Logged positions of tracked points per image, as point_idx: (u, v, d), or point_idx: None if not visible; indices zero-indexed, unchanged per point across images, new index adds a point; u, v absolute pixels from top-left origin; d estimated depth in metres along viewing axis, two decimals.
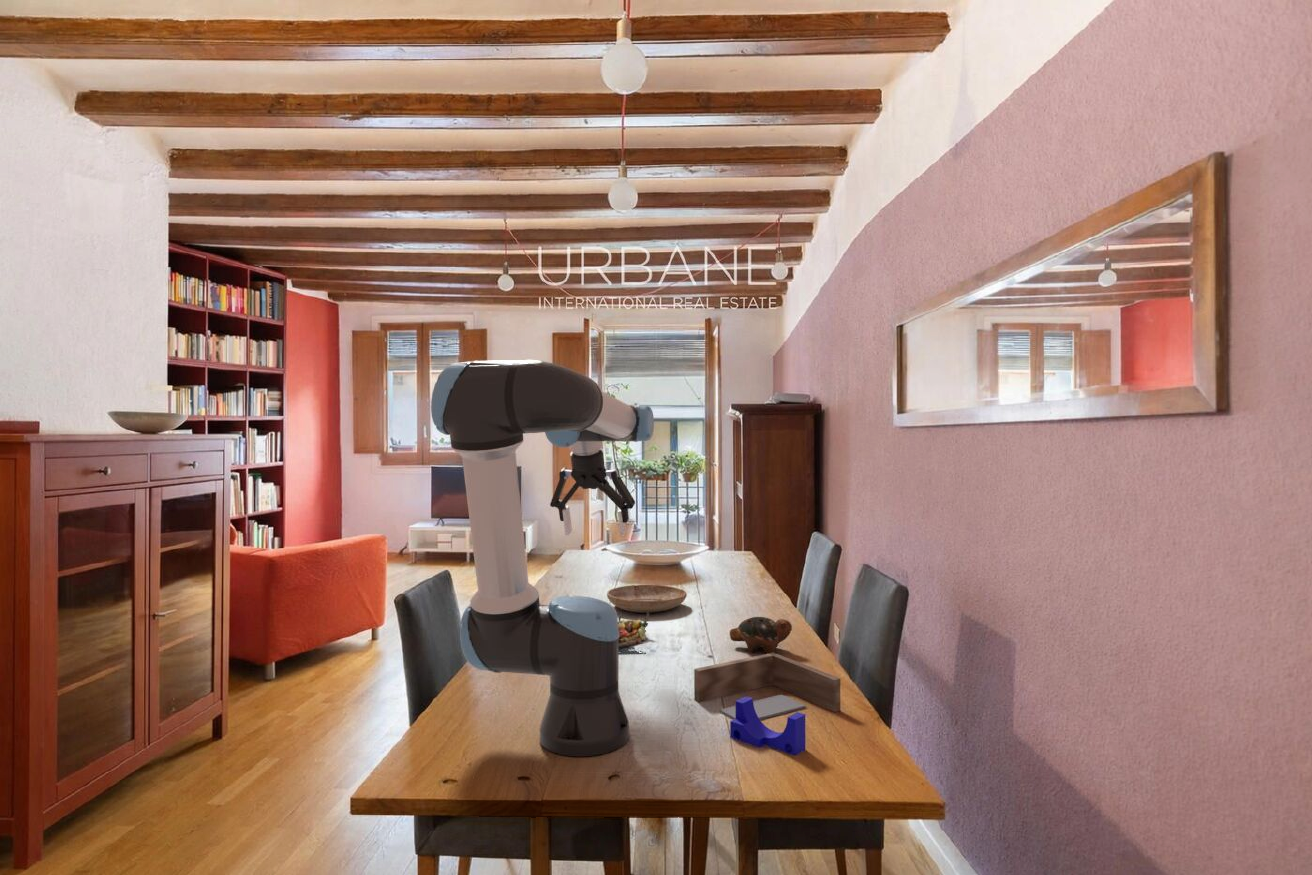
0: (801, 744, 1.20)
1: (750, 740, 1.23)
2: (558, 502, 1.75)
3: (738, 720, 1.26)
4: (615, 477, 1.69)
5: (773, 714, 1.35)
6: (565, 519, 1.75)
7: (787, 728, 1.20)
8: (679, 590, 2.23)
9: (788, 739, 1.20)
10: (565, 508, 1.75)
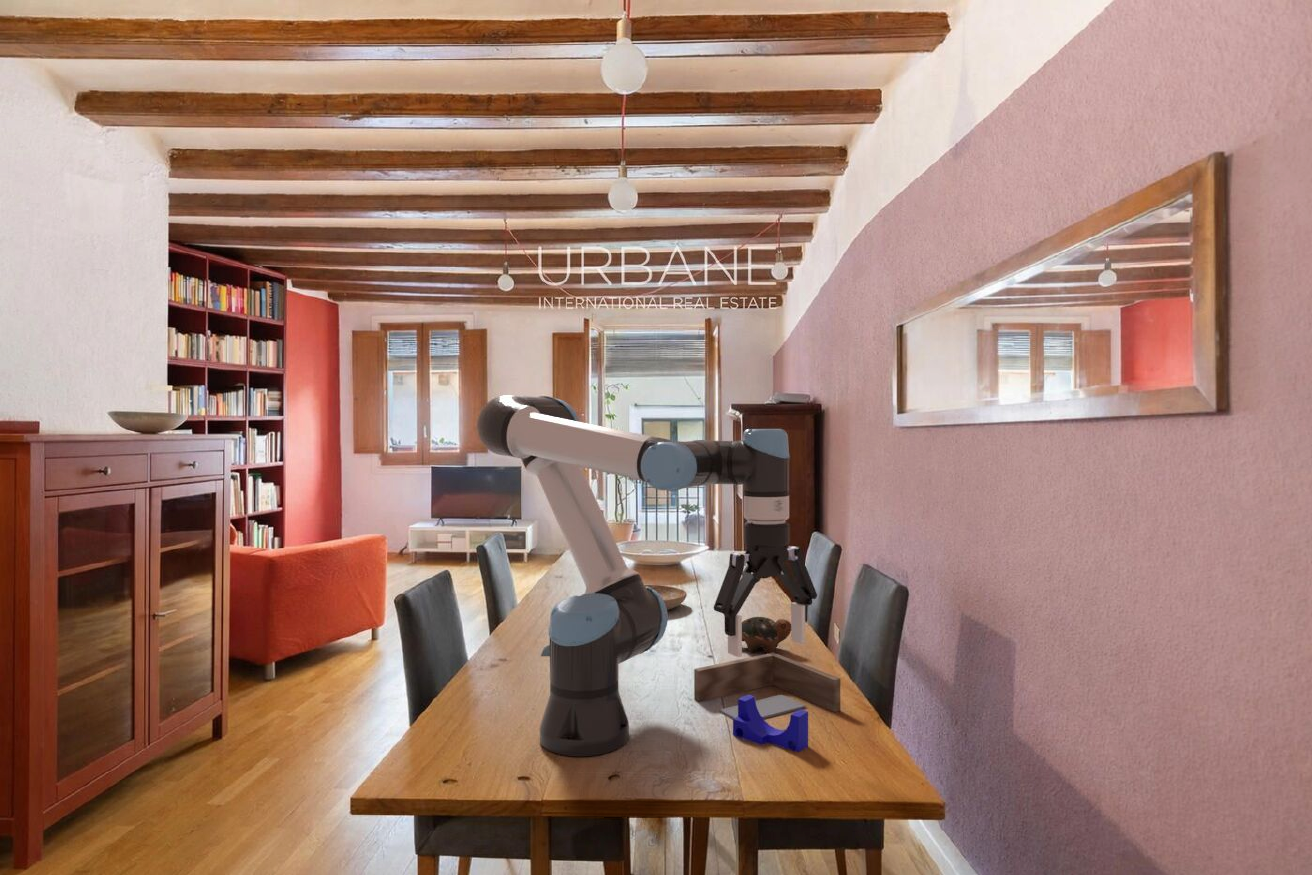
0: (804, 741, 1.21)
1: (753, 738, 1.24)
2: None
3: (741, 718, 1.27)
4: None
5: (773, 714, 1.35)
6: None
7: (790, 725, 1.21)
8: (679, 590, 2.23)
9: (792, 737, 1.21)
10: (796, 603, 1.27)
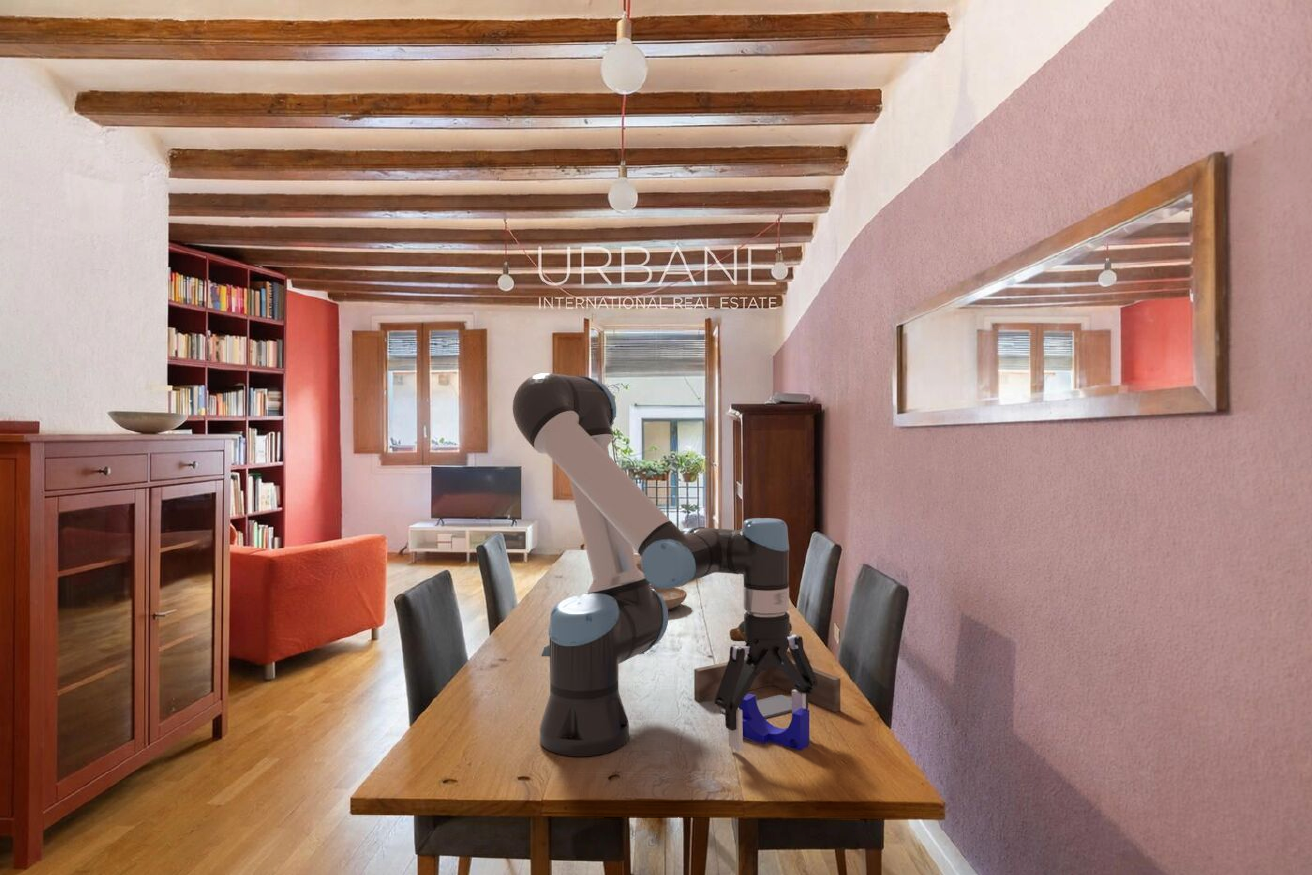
0: (805, 739, 1.22)
1: (755, 736, 1.25)
2: None
3: (742, 717, 1.28)
4: None
5: (773, 714, 1.35)
6: None
7: (792, 724, 1.22)
8: (679, 590, 2.23)
9: (793, 735, 1.21)
10: (797, 691, 1.27)
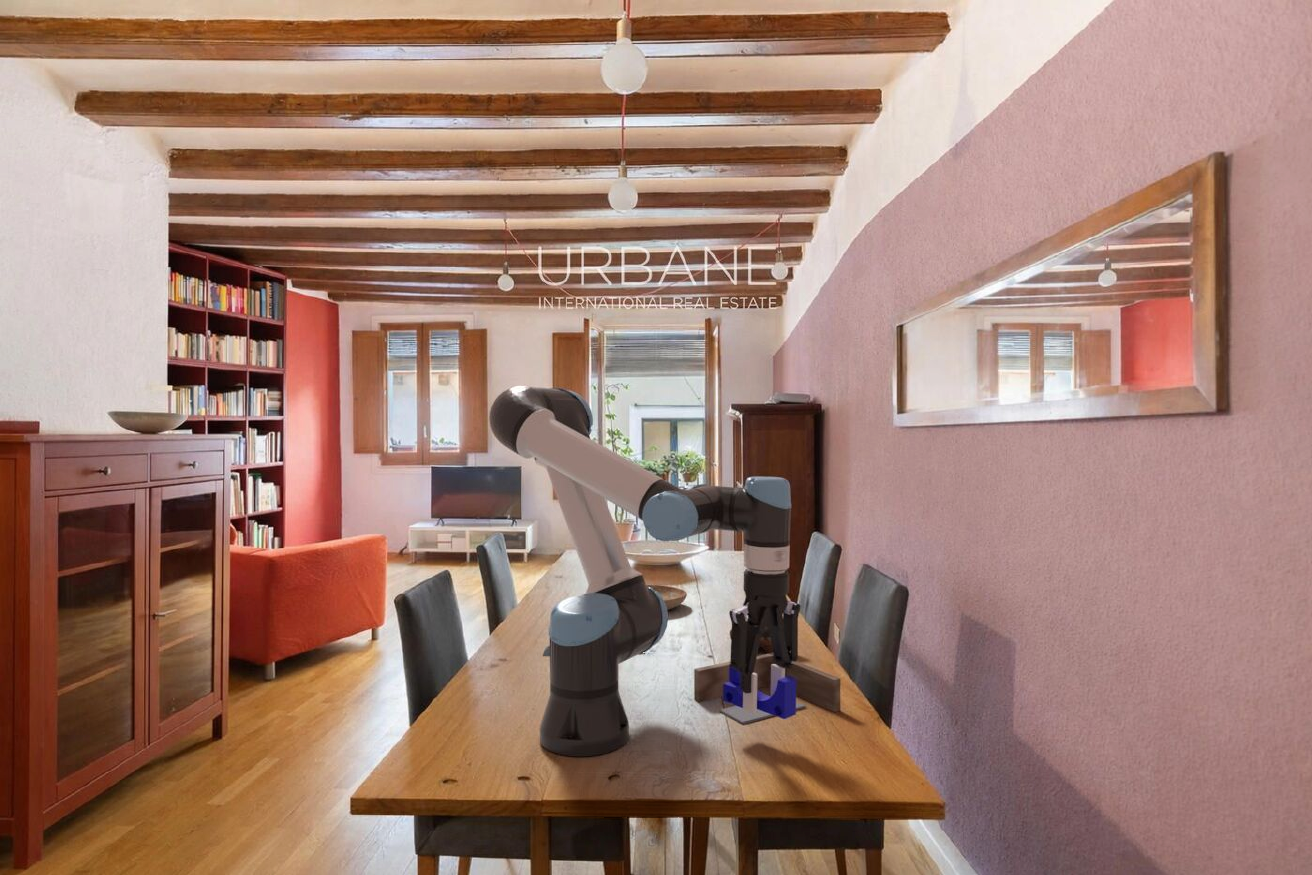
0: (791, 707, 1.21)
1: (741, 702, 1.24)
2: None
3: (731, 683, 1.27)
4: None
5: None
6: None
7: (777, 691, 1.21)
8: (679, 590, 2.23)
9: (778, 702, 1.20)
10: (776, 666, 1.25)
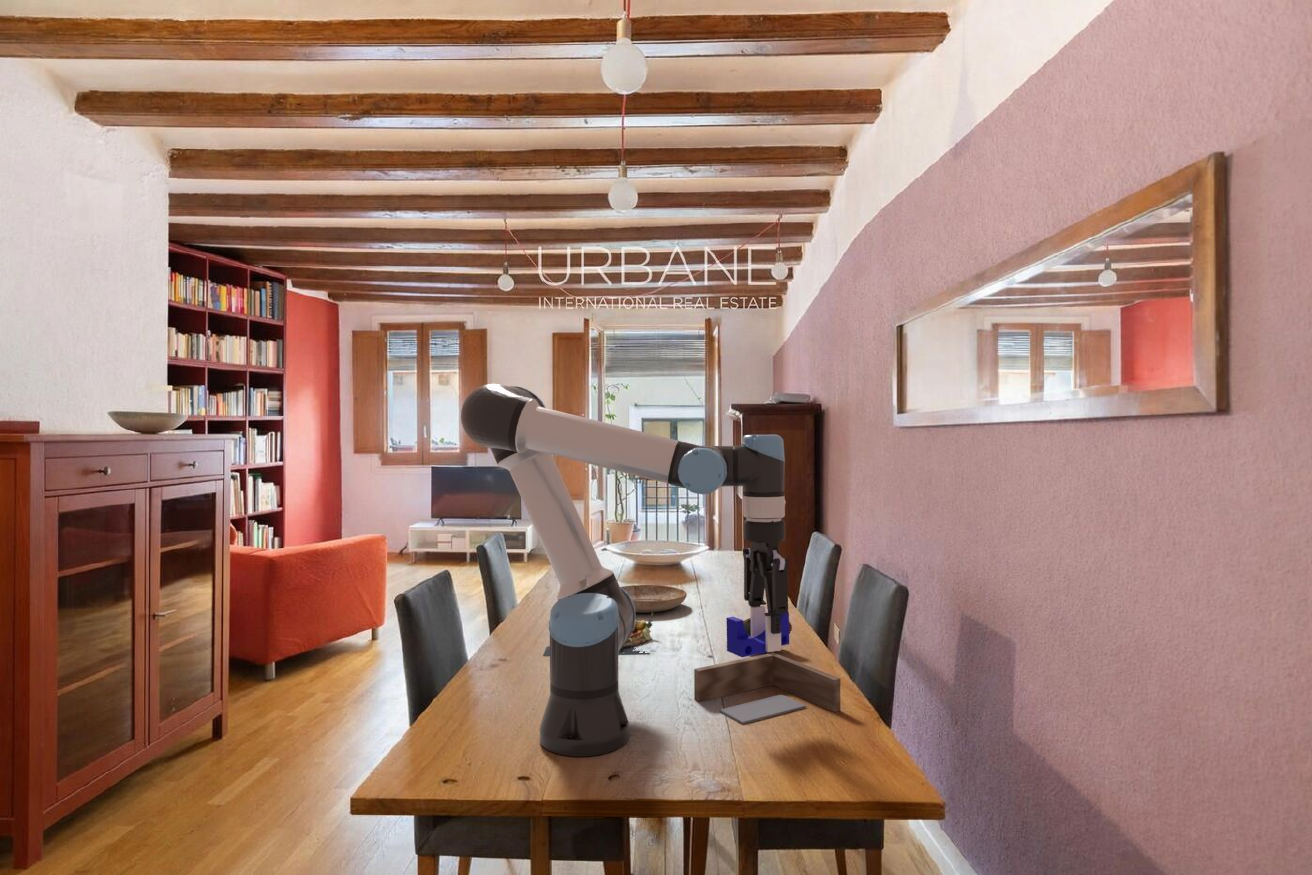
0: None
1: (761, 648, 1.31)
2: None
3: (742, 638, 1.31)
4: (775, 567, 1.28)
5: (773, 714, 1.35)
6: (751, 620, 1.37)
7: (782, 622, 1.36)
8: (679, 590, 2.23)
9: (784, 632, 1.36)
10: (756, 607, 1.37)
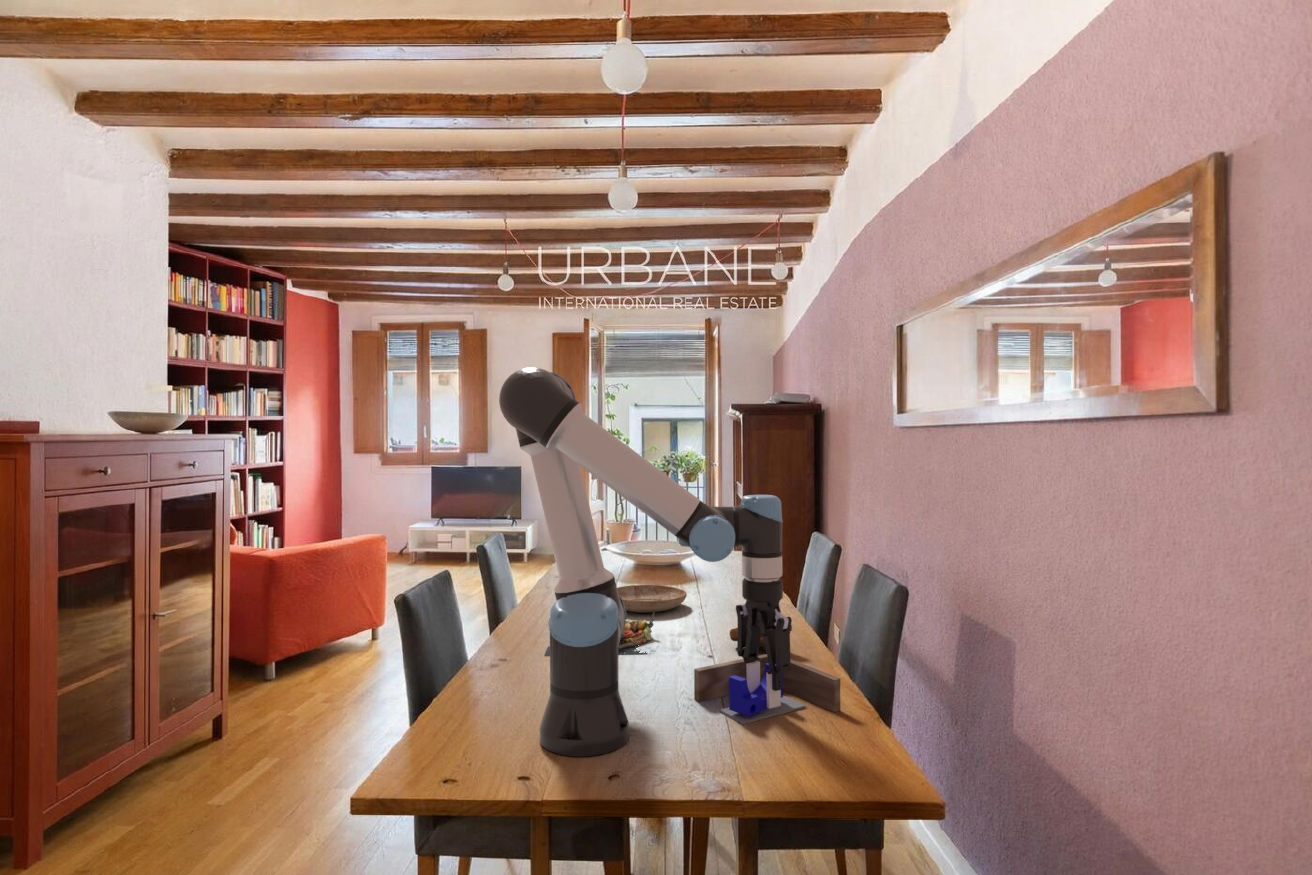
0: None
1: (763, 705, 1.35)
2: None
3: (746, 696, 1.33)
4: (779, 626, 1.32)
5: (773, 714, 1.35)
6: (748, 676, 1.40)
7: None
8: (679, 590, 2.23)
9: None
10: (752, 663, 1.41)
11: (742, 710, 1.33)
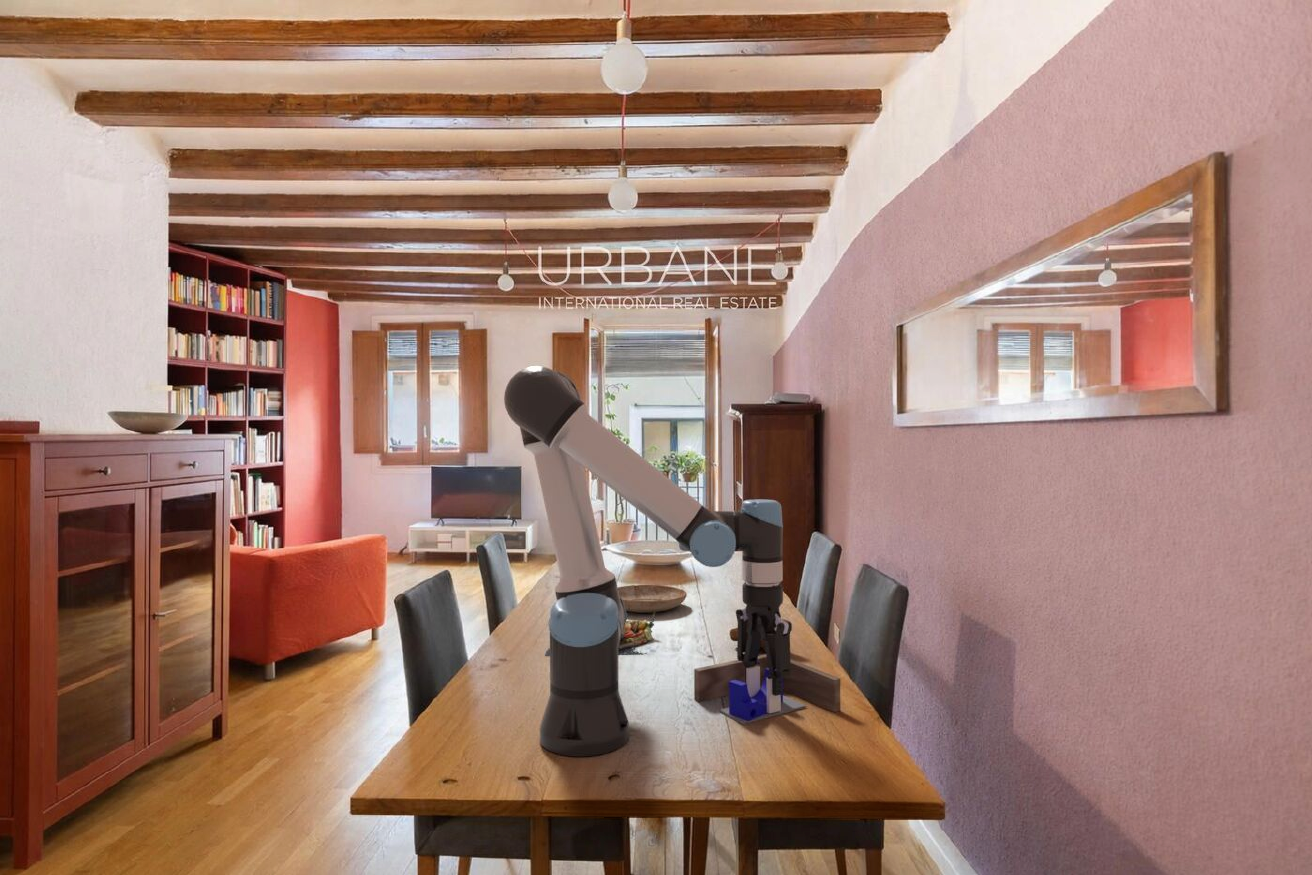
0: None
1: (763, 710, 1.35)
2: None
3: (746, 701, 1.33)
4: (779, 631, 1.32)
5: (773, 714, 1.35)
6: (748, 681, 1.40)
7: None
8: (679, 590, 2.23)
9: None
10: (752, 667, 1.41)
11: (742, 715, 1.33)
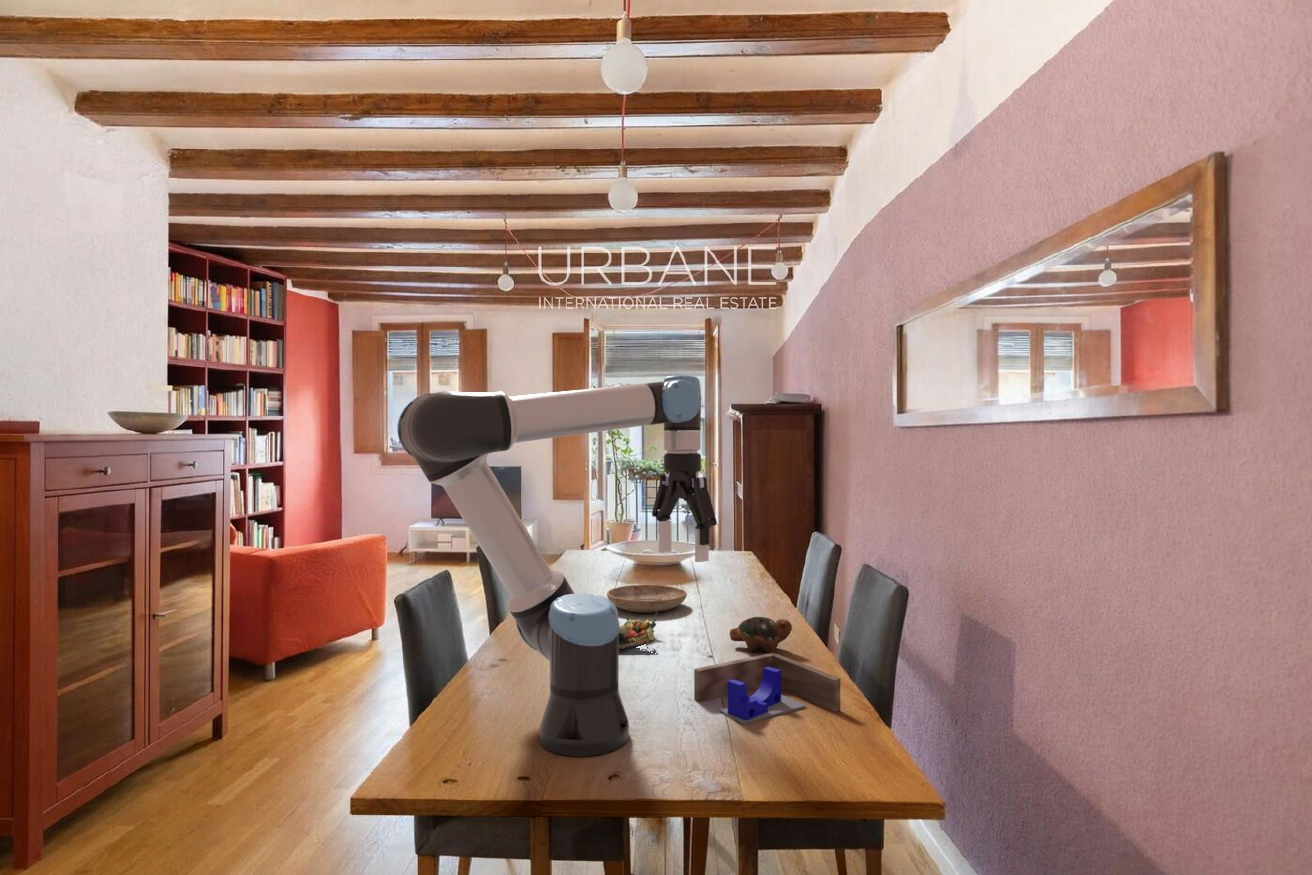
0: None
1: (761, 709, 1.35)
2: None
3: (745, 701, 1.34)
4: (696, 485, 1.44)
5: (773, 714, 1.35)
6: (659, 532, 1.55)
7: (776, 681, 1.40)
8: (679, 590, 2.23)
9: (777, 690, 1.41)
10: (664, 521, 1.56)
11: (740, 714, 1.33)
